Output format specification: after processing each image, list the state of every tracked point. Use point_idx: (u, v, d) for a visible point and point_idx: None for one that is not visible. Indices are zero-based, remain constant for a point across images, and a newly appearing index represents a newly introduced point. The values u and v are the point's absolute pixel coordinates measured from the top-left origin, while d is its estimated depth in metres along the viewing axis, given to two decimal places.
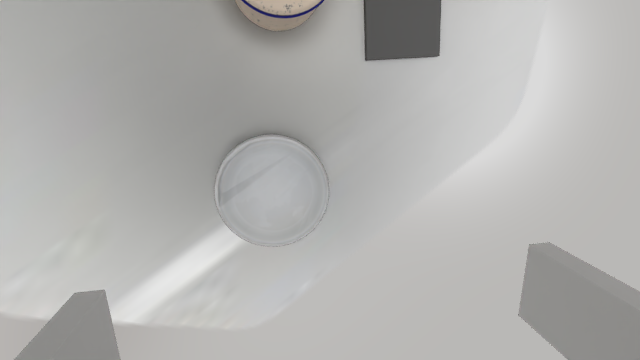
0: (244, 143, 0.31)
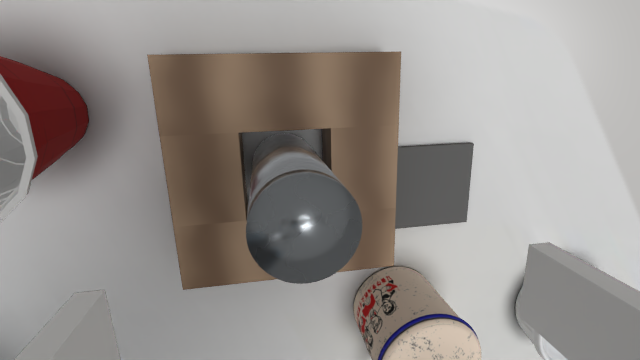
0: (541, 350, 0.35)
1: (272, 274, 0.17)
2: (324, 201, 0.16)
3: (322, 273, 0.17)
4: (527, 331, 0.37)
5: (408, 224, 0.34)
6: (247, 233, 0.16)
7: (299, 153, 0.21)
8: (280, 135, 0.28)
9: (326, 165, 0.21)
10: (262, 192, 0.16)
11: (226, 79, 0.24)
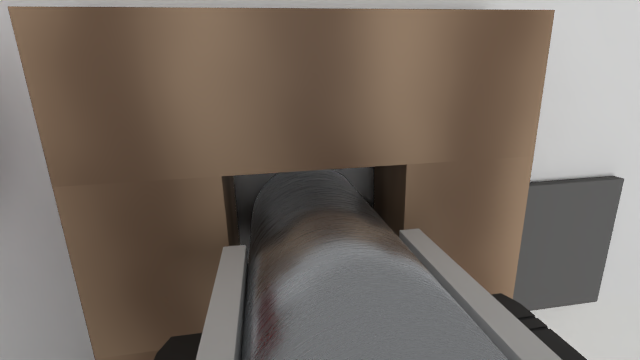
0: None
1: None
2: None
3: None
4: None
5: None
6: None
7: (376, 261, 0.08)
8: (303, 172, 0.15)
9: (437, 281, 0.08)
10: None
11: (194, 65, 0.11)
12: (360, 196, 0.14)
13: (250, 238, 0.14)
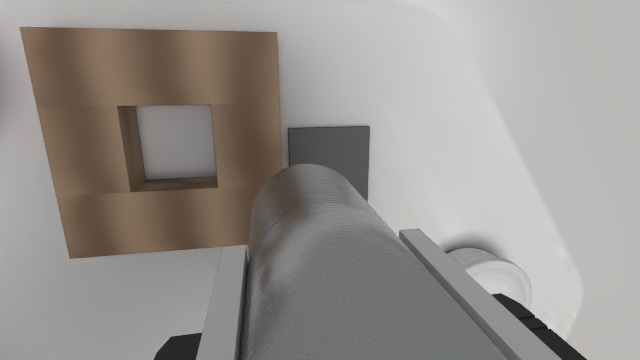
0: None
1: None
2: None
3: None
4: None
5: None
6: None
7: (375, 260, 0.07)
8: (302, 171, 0.15)
9: None
10: None
11: (101, 53, 0.25)
12: (359, 195, 0.14)
13: (249, 237, 0.14)
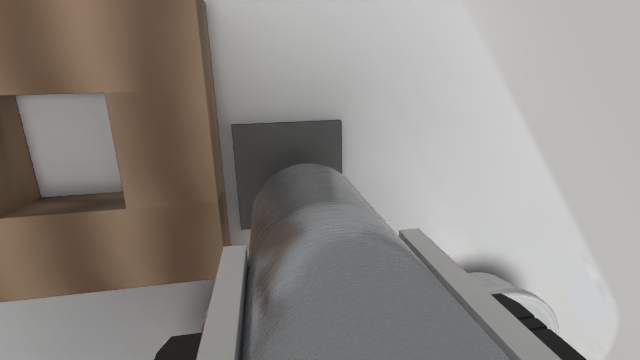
0: None
1: None
2: None
3: None
4: None
5: None
6: None
7: (375, 258, 0.08)
8: (303, 170, 0.15)
9: None
10: None
11: None
12: (360, 195, 0.14)
13: (250, 236, 0.14)
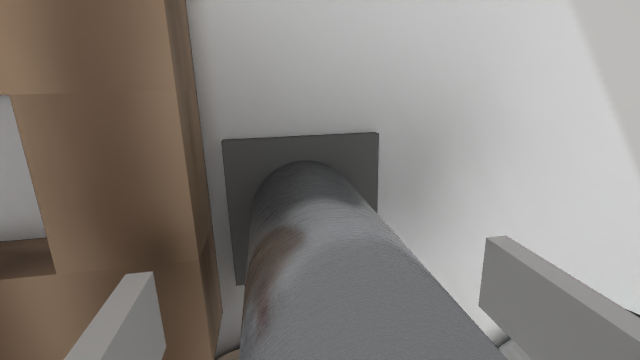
0: None
1: None
2: None
3: None
4: None
5: None
6: None
7: (364, 243, 0.08)
8: (300, 167, 0.16)
9: (420, 262, 0.09)
10: None
11: None
12: (354, 189, 0.15)
13: None
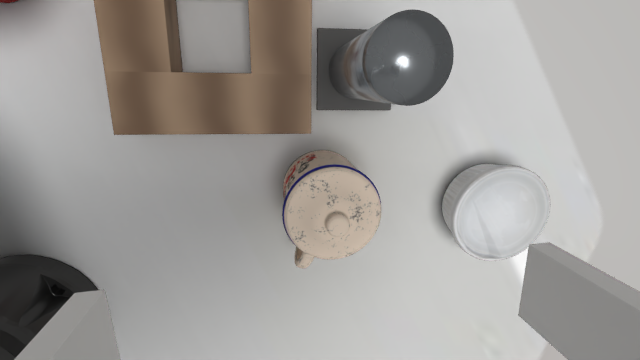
0: (456, 235, 0.37)
1: (381, 94, 0.21)
2: (427, 34, 0.21)
3: (418, 98, 0.22)
4: (448, 223, 0.39)
5: (334, 107, 0.36)
6: (367, 55, 0.21)
7: None
8: None
9: None
10: (381, 23, 0.20)
11: None
12: None
13: (334, 63, 0.32)
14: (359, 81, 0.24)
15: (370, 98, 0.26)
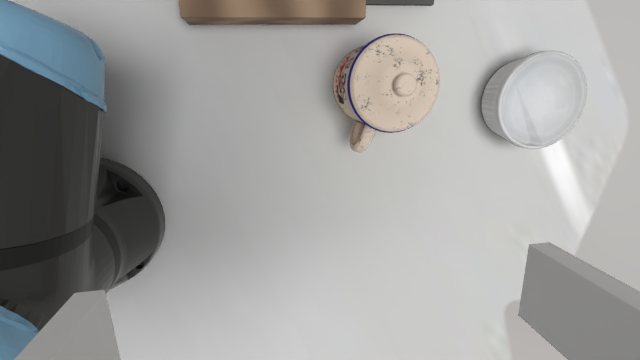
0: (500, 122, 0.39)
1: None
2: None
3: None
4: (490, 115, 0.41)
5: (381, 0, 0.38)
6: None
7: None
8: None
9: None
10: None
11: None
12: None
13: None
14: None
15: None
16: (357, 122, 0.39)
